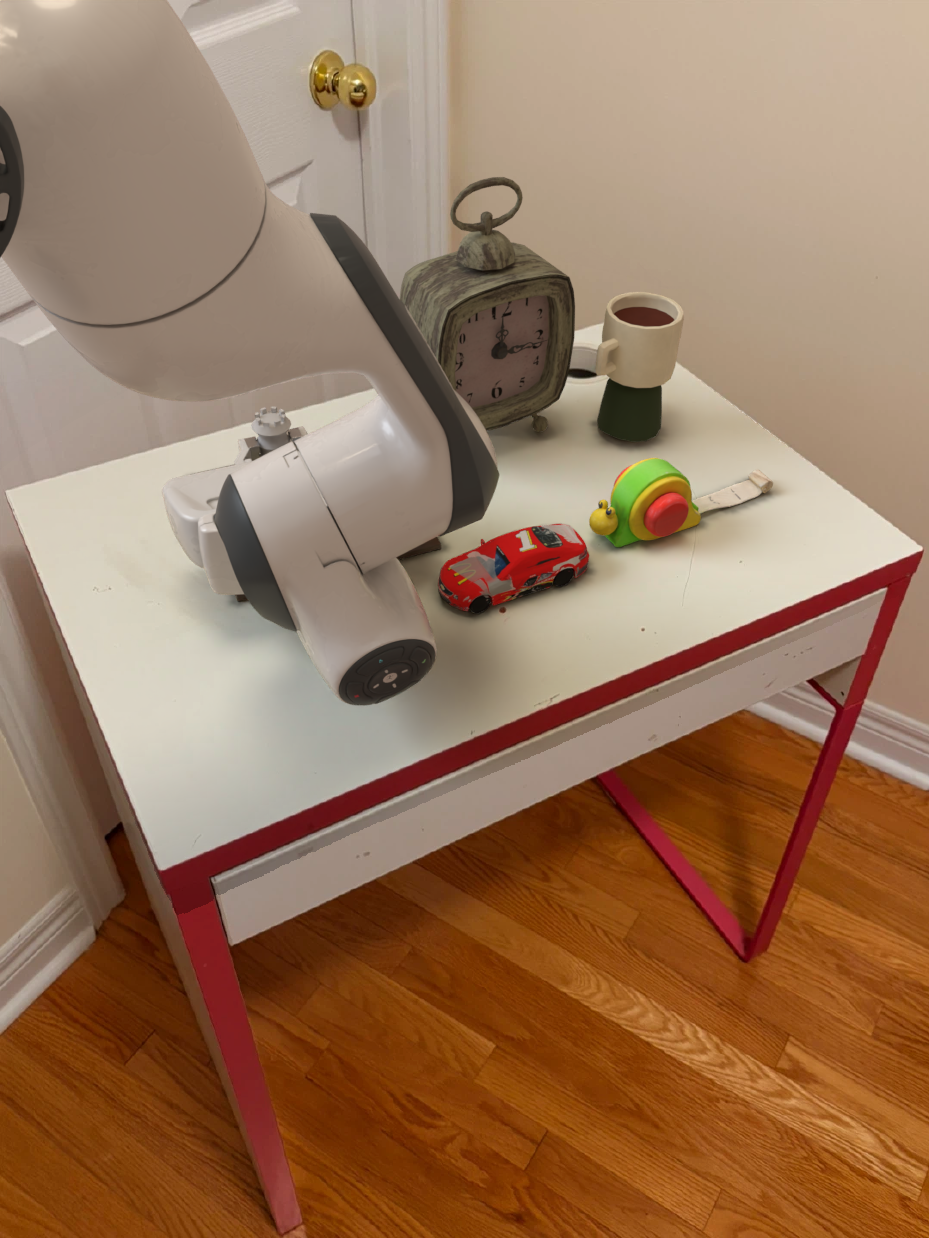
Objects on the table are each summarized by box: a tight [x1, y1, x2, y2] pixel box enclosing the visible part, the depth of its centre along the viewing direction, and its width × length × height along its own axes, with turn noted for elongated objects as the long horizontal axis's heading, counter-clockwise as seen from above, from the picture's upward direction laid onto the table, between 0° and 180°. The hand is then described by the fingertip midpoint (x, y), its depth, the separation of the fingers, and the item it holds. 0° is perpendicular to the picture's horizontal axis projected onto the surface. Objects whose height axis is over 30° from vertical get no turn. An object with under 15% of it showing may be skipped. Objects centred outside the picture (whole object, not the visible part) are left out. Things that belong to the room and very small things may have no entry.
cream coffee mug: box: [594, 291, 685, 443], centre depth 100 cm, size 11×7×13 cm, turn 128°
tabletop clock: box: [399, 176, 576, 433], centre depth 95 cm, size 14×9×25 cm, turn 120°
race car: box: [437, 523, 590, 614], centre depth 87 cm, size 13×5×4 cm, turn 114°
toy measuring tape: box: [588, 457, 774, 548], centre depth 92 cm, size 6×20×7 cm, turn 117°
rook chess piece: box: [251, 406, 292, 457], centre depth 89 cm, size 4×4×8 cm
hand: (270, 439), depth 89 cm, fingers closed on rook chess piece, 3 cm apart
